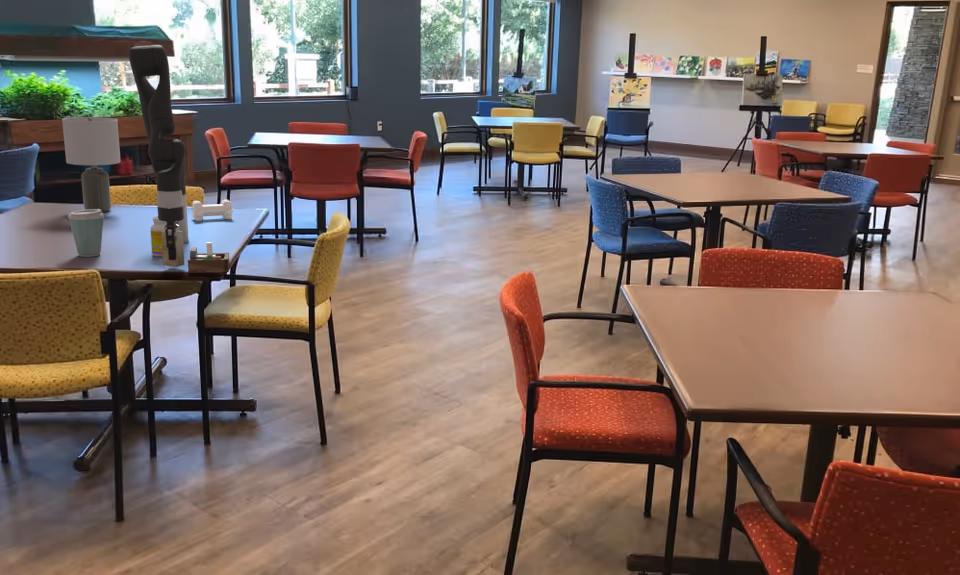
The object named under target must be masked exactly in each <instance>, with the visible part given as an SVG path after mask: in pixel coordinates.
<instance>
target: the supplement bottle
mask: <svg viewBox="0 0 960 575" xmlns="http://www.w3.org/2000/svg"><path fill="white" fill-rule="evenodd" d="M152 222H153V224H152V225H151V226H150V239H151V240H150V243H151V254H152V256H154V257H158V258H163V251H162V231H165V230H164V227H165V225H167V222H166V221H160V220H159V219H158V215H157V216H153V217H152Z"/></svg>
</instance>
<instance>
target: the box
mask: <svg viewBox="0 0 960 575" xmlns="http://www.w3.org/2000/svg"><path fill="white" fill-rule="evenodd" d="M175 234H176V233H175ZM177 236H178V240H177V241H176V260H169V255H168V248H167V247H166V245H167V244H166V239H165V231H162V251H163V257H162V266H165V267H170V268H178V267H181V266H184V265H185V250H184V249H185V248H184V246H185V244H184V243H185V242H184V241H183V231H179V230H178V232H177ZM169 244H173V241H170V242H169Z"/></svg>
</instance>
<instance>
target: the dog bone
mask: <svg viewBox="0 0 960 575" xmlns="http://www.w3.org/2000/svg"><path fill="white" fill-rule="evenodd" d="M191 204H192V207H191V211H192V213H191V214H192V219H193V220H195V221H196V222H201V221H203V220H204V217H216V216H221V217H222V218H223V219H224V220H231V219H232V218H233V216H232V215H233V211H234V210H233V207H232V206H233V205H232V201H230V200H229V199H222V200H221V202H220V203H219V204H218V203H217V204H203V203H202V202H201V201H199V200H193V201H192V203H191Z"/></svg>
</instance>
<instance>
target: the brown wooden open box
mask: <svg viewBox="0 0 960 575" xmlns="http://www.w3.org/2000/svg"><path fill="white" fill-rule="evenodd" d="M197 255H207V252H202V253H201V252H199V253H198V252H197ZM213 255H216V256H214V259H213V256H204V257H203V259H190V258H188V259H187V269H188V270H187V272H188V273H189V274H193V273H197V274H198V273H229V272H230V252H213Z"/></svg>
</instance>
